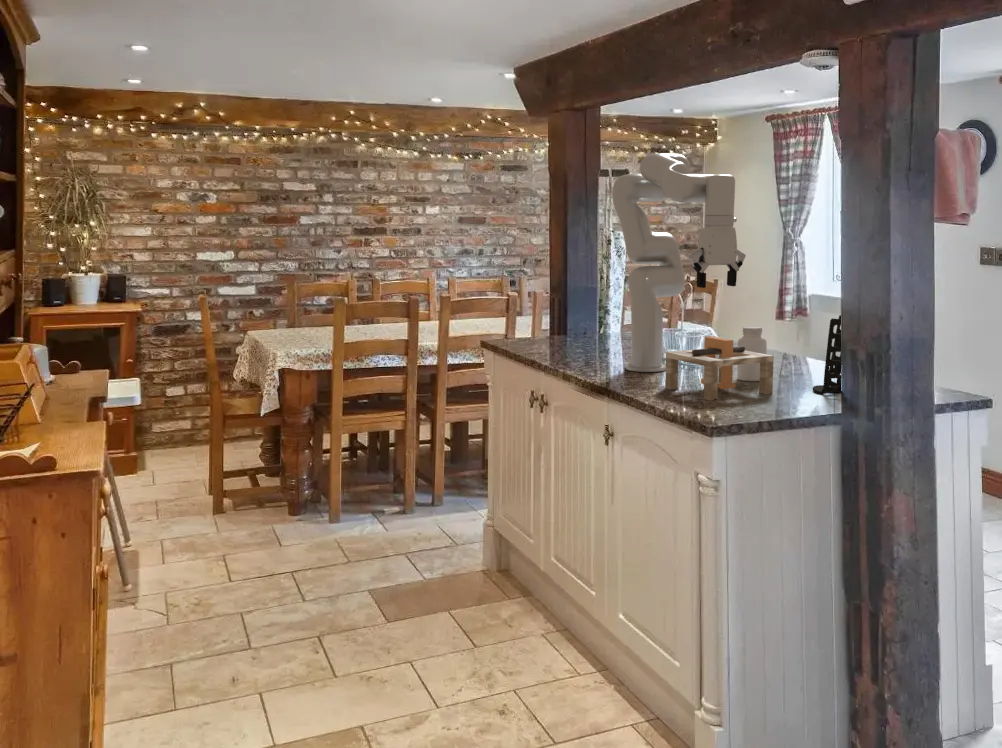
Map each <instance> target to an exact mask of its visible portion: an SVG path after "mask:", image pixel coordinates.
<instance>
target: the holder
mask: <svg viewBox="0 0 1002 748" xmlns="http://www.w3.org/2000/svg"><path fill="white" fill-rule="evenodd" d="M841 316H842V315H841V314H840V315H839V316H838V318H831V319H830V321H829V328H828V336H827V345H826V356H825V363H824V364H825V365H824V373H823V385H819V384H817V385H814V386H813V387H812V391H813V392H814V393H816V394H819V395H821V396H822V395H825V394H827V393H837V394H841V393H840V392H841V375H842V372H841V330H842V329H841V326H842V325H841ZM835 326H836V330H835V329H834V328H835ZM834 330H835V332H834ZM833 340H834V342H833ZM836 353H840V355H839V356H838V355H837V354H836ZM832 379H836V381H833V380H832Z"/></svg>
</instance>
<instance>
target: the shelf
mask: <svg viewBox="0 0 1002 748" xmlns="http://www.w3.org/2000/svg"><path fill="white" fill-rule="evenodd" d="M711 354H715V356H718V358H716V357H715V358H710V357H705V356H704V355H711ZM679 361H681V362H685V363H689V364H694V365H698V366H704V367H703V369H704V370H703V379H704V384H703V399H704V400H707V401H713V400H714V399H717V400H718V389H719V388H718V383H721V366H729V365H733V366H737V365H740V364H751V363H760V381H759V388H758V389H759V391H758V393H759V394H762V393H763V395H770V394H773V392H774V391H773V389H774V388H773V387H774V355H771V354H767V353H766V354H762V353H756V352H751V351H745V347H744V346H738V345H736V346H733V357H726V358H722V349H717V348H710V349H705V348H697V349H686V350H674V351H665V365H666V370H665V379H664V380H665V381H664V382H665V385H664V387H665V389H666V390H677V389H679ZM714 401H715V400H714Z"/></svg>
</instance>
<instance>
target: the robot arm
mask: <svg viewBox="0 0 1002 748" xmlns="http://www.w3.org/2000/svg"><path fill="white" fill-rule="evenodd" d="M690 170H691V169H690V163H689V160H688V158H687V157H685V156H684V155H683V154H680V153H651V154H648V155H646V156H645V157H644V158H643V159H642V160H641V162H640V165H639V172H640V173H628V174H623V175H621V176H619V177H617V179H616V180H615V181H614V183H613V187H612V195H611V197H612V203H613V207H614V209H615V213H616V215H617V217H618V219H619V222H620V225H621V230H622V234H623V239H624V241H623V242H624V244H625V245H624V246H625V249H626V250H625V251H626V253H627V257H628V259H629V261H630V262H631V263H633V264H637V265H638V264H639V265H641V266H638V267H636V268H634V269H632V270H631V272H630V273H629V274H628V277H627V280H628V281H627V284H628V290H629V298H630V307H631V308H630V318H631V320H630V321H631V325H630V327H631V328H630V330H631V331H630V333H631V337H630V341H631V343H630V348H631V349H630V354H629V355H627V359H628V360H629V361H630V362H629V363H627V364H625V369H626V371H630V372H638V373H657V372H658V373H659V372H664V371H665V372H666V363H663V329H664V328H663V326H664V325H663V323H664V319H663V317H664V316H663V315H664V313H663V309H662V307H661V304H660V303H659V301H658V300H657V298H667V297H668V298H669V297H676V296H679V295H680V294H682V292H684V290H685V286H686V285H685V284H686V277H685V272H684V268H683V267H684V266H683V263H682V258H681V254H680V249H679V246H678V241H677V240H676V237H674V235H672V234H671V233H669V232H665V231H664V232H663V231H662V232H661V231H659V232H658V231H657V232H655V231H653V230H652V228H651V224H650V220H649V219H650V218H649V217H648V215H647V213H646V212H645V211H644V209H643V208H642V207H641V206H640V205H638V203H655V202H656V203H658V202H659V203H660V202H664V201H666V200H668V199H670V200H673V201H675V202H679V203H682V204H683V203H684V204H685V203H693V204H694V203H695V204H697V203H700V204H701V203H702V204H703V203H704V225H703V226H702V227H701V228H700V231H699V236H698V241H697V242H698V243H697V251H695V252H694V253H692V254H690V255H689V256H688V259H689V262H690V264H691V267H692V268H693V270H694V272H695V273H696V287H697V288H699V289H704V288H706V287H707V286H706V285H707V273H706V272H705V271H706V270H707V268H708V267H709V266H727V268H728V269H729V270H727V273H726V274H727V275H726V286H728V287H736V286H737V279H738V278H737V275H738V272H739V271H740V268H741V267H742V265H743V263H744V261H745V258H746V254H745V253H743V252H742V251H740V249H738V243H737V232H736V227H734V223H737V221H738V220H737V217H735V215H734V214H735V198H736V197H735V194H736V193H735V192H736V178H735V176H734V175H732V174H709V173H708V174H705V173H704V174H703V173H700V174H699V173H690ZM649 264H650V265H649ZM651 264H652V265H651ZM653 264H658V265H653ZM643 265H644V266H643Z"/></svg>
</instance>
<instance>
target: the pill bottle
mask: <svg viewBox="0 0 1002 748" xmlns="http://www.w3.org/2000/svg"><path fill="white" fill-rule="evenodd" d="M742 335H743V336H741V337H739V338H738V340H737V346H744V347H745V351H751V352H756V353H762V354H767V340H766V338H765V337H764V336H762V335H763V327H761V326H744V327H742ZM736 366H737V368H736V371H737V372H736V373H737V374H736V376H737V379H738V380H739V381H743V382H760V363H751V364H740V365H736Z"/></svg>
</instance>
